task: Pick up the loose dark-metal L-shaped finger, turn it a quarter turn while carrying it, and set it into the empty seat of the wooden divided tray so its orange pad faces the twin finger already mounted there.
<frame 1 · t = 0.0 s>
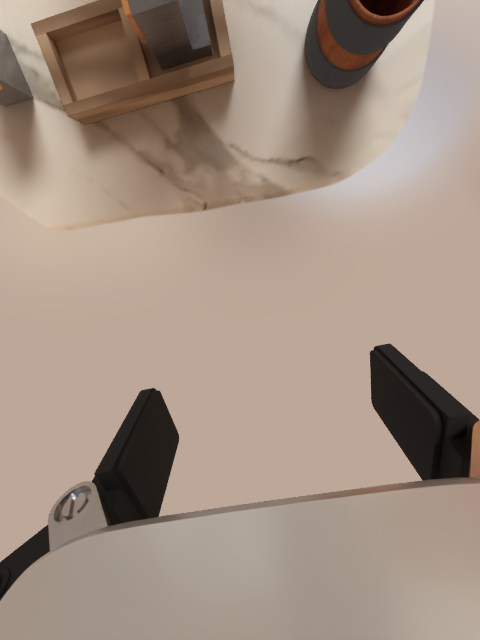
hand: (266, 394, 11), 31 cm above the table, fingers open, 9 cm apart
mug: (347, 27, 29), on the table
twin finger: (181, 39, 28), resting on wooden divided tray
wooden divided tray: (145, 62, 31), on the table
finger: (5, 72, 31), on the table
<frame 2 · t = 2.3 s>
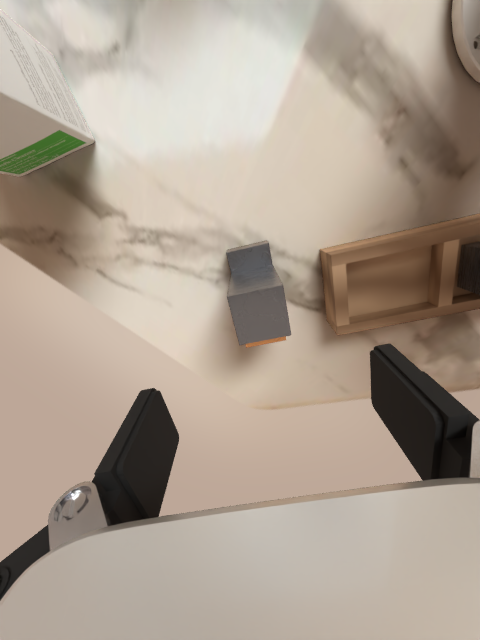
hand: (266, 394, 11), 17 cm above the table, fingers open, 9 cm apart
wooden divided tray: (422, 266, 26), on the table
finger: (253, 274, 26), on the table
skincare box: (38, 117, 21), on the table
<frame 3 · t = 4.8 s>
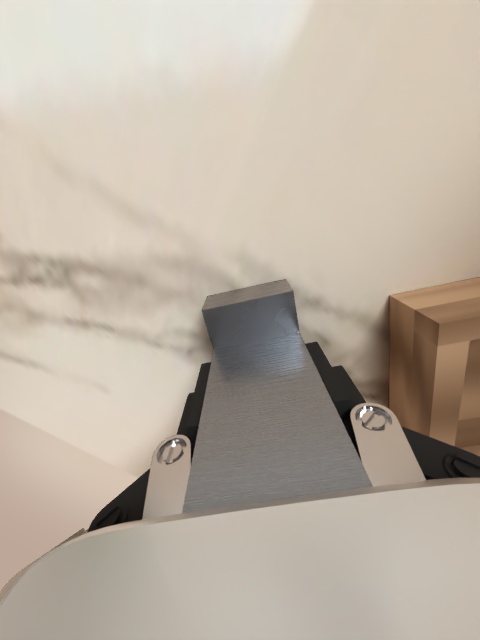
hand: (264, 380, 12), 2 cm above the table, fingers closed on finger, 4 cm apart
finger: (257, 339, 14), on the table, touching gripper
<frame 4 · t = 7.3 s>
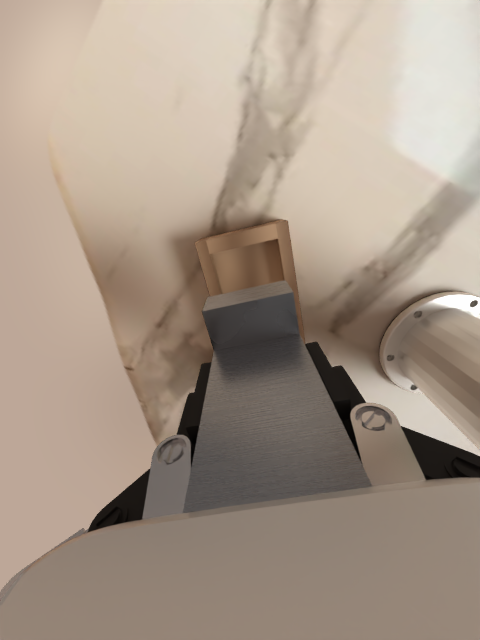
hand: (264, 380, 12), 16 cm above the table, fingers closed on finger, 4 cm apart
wooden divided tray: (260, 322, 28), on the table
finger: (257, 340, 14), point 14 cm above the table, touching gripper
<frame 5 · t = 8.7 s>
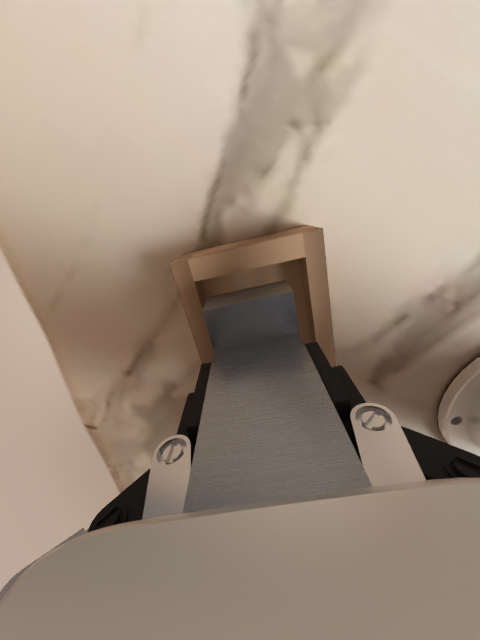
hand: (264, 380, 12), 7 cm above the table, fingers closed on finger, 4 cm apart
wooden divided tray: (271, 369, 20), on the table
finger: (257, 340, 14), point 5 cm above the table, touching gripper
when the fingers open (5 cm above the table, at t = 9.8 s): finger stays where it is, resting on wooden divided tray.
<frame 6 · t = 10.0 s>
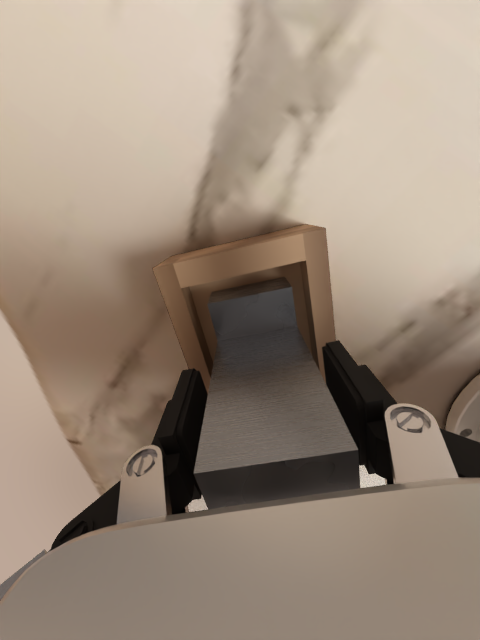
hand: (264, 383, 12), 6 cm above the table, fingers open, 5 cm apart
wooden divided tray: (268, 380, 18), on the table
finger: (258, 333, 15), point 2 cm above the table, touching wooden divided tray
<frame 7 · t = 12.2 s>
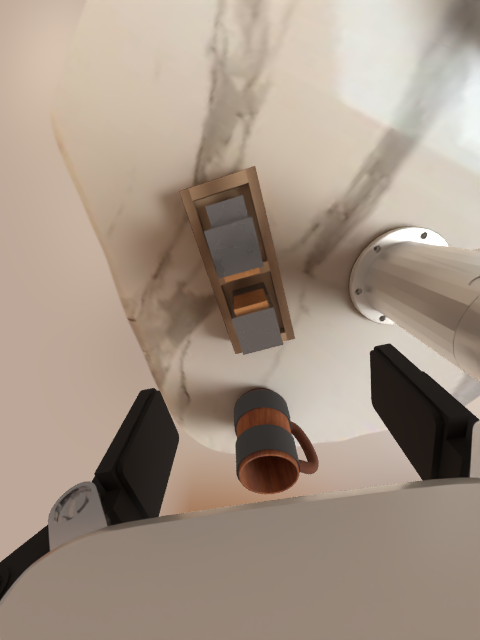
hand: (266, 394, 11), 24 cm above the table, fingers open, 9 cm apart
mug: (269, 408, 42), on the table
twin finger: (254, 307, 33), resting on wooden divided tray
wooden divided tray: (243, 267, 33), on the table
finger: (232, 229, 29), point 2 cm above the table, touching wooden divided tray
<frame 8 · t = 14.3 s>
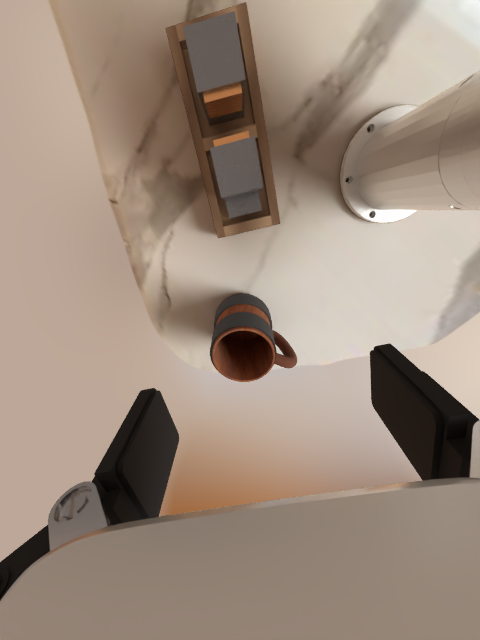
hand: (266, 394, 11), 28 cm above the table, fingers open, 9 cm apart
mug: (252, 321, 41), on the table
twin finger: (240, 188, 31), resting on wooden divided tray
wooden divided tray: (231, 145, 31), on the table
finger: (220, 88, 28), point 2 cm above the table, touching wooden divided tray
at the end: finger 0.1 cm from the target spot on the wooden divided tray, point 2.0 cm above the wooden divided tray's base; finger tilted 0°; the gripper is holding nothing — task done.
